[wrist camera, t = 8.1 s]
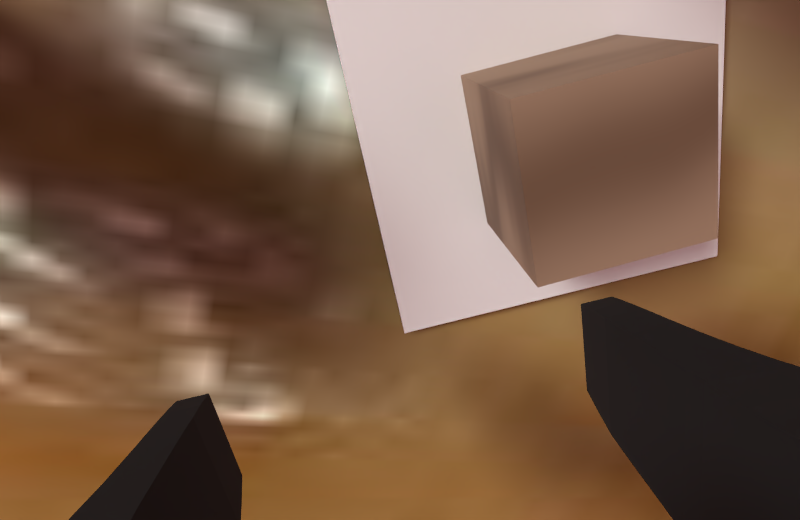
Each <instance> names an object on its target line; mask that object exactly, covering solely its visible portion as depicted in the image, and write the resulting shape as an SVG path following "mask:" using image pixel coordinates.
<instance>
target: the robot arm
mask: <svg viewBox="0 0 800 520" xmlns="http://www.w3.org/2000/svg"><path fill="white" fill-rule="evenodd" d="M581 311H582V325H583V339H584V353H585V367H586V382H587V391H588V393H589V395H590V397H591V398H592V400H593V402H594V404H595V406H596V408H597V410H598V412H599V414H600V415H601V417H602V419H603V421H604V423H605V424H606V426H607V428H608V430H609V431H610V433H611V435H612V436H613V438H614V439H615V440H616V442H617V443H618V445H619V446H620V447H621V449H622V450H623V452H624V453H625V454H626V456H627V457H628V458H629V460H630V461H631V463H632V464H633V465H634V467H635V468H636V470H637V471H638V472H639V474H640V475H641V476H642V478H643V479H644V480H645V482H646V483H647V484H648V486H649V487H650V489H651V490H652V491H653V493H654V494H655V495H656V497H657V498H658V499H659V501H660V502H661V503H662V505H663V506H664V508H665V509H666V510H667V512H668V513H669V514H670V516H671V517H672V518H673V520H800V367H798V366H795V365H792V364H789V363H786V362H782V361H779V360H776V359H773V358H770V357H767V356H764V355H761V354H758V353H756V352H753V351H750V350H747V349H744V348H741V347H738V346H735V345H733V344H730V343H727V342H725V341H722V340H719V339H717V338H714V337H711V336H709V335H706V334H704V333H701V332H699V331H696V330H694V329H691V328H689V327H686V326H684V325H682V324H679V323H677V322H674V321H672V320H669V319H667V318H665V317H662V316H660V315H657V314H655V313H653V312H650V311H648V310H645V309H643V308H641V307H638V306H636V305H633V304H631V303H628V302H625V301H623V300H620V299H617V298H614V297H608V298H604V299H600V300H596V301H592V302H588V303H583V304H581ZM241 503H242V474H241V471H240V469H239V467H238V464H237V462H236V459H235V457H234V454H233V452H232V449H231V447H230V444H229V442H228V440H227V437H226V435H225V432H224V430H223V427H222V425H221V422H220V420H219V418H218V415H217V413H216V410H215V408H214V405H213V403H212V400H211V398H210V395H209V394H205V395H201V396H197V397H192V398H188V399H184V400H180V401H176V402H175V403H174V404H173V405H172V406H171V407H170V408H169V409H168V410H167V411H166V413H165V414H164V415H163V416H162V417H161V418H160V419H159V420H158V421H157V423H156V424H155V425H154V426H153V427H152V428H151V429H150V431H149V432H148V433H147V434H146V435H145V436H144V437H143V439H142V440H141V441H140V442H139V443H138V444H137V446H136V447H135V448H134V449H133V450H132V451H131V452H130V454H129V455H128V456H127V457H126V458H125V459H124V460H123V461H122V463H121V464H120V465H119V466H118V467H117V468H116V469H115V471H114V472H113V473H112V474H111V475H110V476H109V477H108V478H107V480H106V481H105V482H104V483H103V484H102V485H101V486H100V487H99V488H98V489H97V490H96V491H95V492H94V493H93V495H92V496H91V497H90V498H89V499H88V500H87V501H86V502H85V503H84V504H83V505H82V506H81V507H80V508H79V509H78V510H77V511H76V512H75V513H74V514H73V516H72V517H71V518H70V519H69V520H241Z"/></svg>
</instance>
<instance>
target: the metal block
mask: <svg viewBox="0 0 800 520" xmlns="http://www.w3.org/2000/svg"><path fill="white" fill-rule="evenodd" d="M718 51H719V44H714V43H703V42H693V41H682V40H672V39H661V38H651V37H640V36H630V35H619V34H616V35H612V36H608V37H604V38H600V39H597V40H593V41H589V42H585V43H581V44H578V45H574V46H570V47H566V48H562V49H559V50H555V51H551V52H547V53H543V54H540V55H536V56H532V57H528V58H524V59H521V60H517V61H513V62H509V63H505V64H501V65H498V66H494V67H490V68H486V69H482V70H479V71H475V72H471V73H467V74H463V75H461V81H462V86H463V92H464V97H465V103H466V108H467V114H468V119H469V125H470V130H471V136H472V141H473V147H474V152H475V158H476V163H477V169H478V174H479V180H480V185H481V191H482V196H483V202H484V207H485V213H486V218H487V223H488V225H489V226H490V227H491V228H492V230H493V231H494V232H495V234H496V235H497V236H498V237H499V239H500V240H501V241H502V243H503V244H504V245H505V246H506V248H507V249H508V250H509V251H510V253H511V254H512V255H513V257H514V258H515V259H516V260H517V262H518V263H519V264H520V266H521V267H522V268H523V269H524V271H525V272H526V273H527V275H528V276H529V277H530V278H531V280H532V281H533V282H534V283H535V285H536V286H537V287H542V286H545V285H549V284H553V283H556V282H560V281H564V280H567V279H571V278H575V277H578V276H582V275H586V274H589V273H593V272H597V271H600V270H604V269H608V268H611V267H615V266H619V265H622V264H626V263H630V262H634V261H637V260H641V259H645V258H648V257H652V256H656V255H659V254H663V253H667V252H670V251H674V250H678V249H681V248H685V247H689V246H692V245H696V244H700V243H703V242H707V241H711V240H714V239H718Z"/></svg>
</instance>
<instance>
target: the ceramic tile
mask: <svg viewBox="0 0 800 520" xmlns="http://www.w3.org/2000/svg"><path fill="white" fill-rule="evenodd" d="M326 2H327V6H328V11H329V15H330V19H331V23H332V28H333V32H334V36H335V40H336V45H337V49H338V53H339V57H340V62H341V66H342V70H343V74H344V79H345V83H346V87H347V91H348V96H349V100H350V104H351V108H352V112H353V117H354V121H355V125H356V129H357V134H358V138H359V142H360V146H361V151H362V155H363V159H364V163H365V168H366V172H367V176H368V180H369V185H370V189H371V193H372V197H373V202H374V206H375V210H376V214H377V219H378V223H379V227H380V231H381V236H382V240H383V244H384V248H385V253H386V257H387V261H388V265H389V270H390V274H391V278H392V282H393V287H394V291H395V295H396V299H397V304H398V308H399V312H400V316H401V321H402V325H403V329H404V332H405V333H407V332H411V331H416V330H420V329H424V328H428V327H432V326H436V325H440V324H444V323H448V322H452V321H456V320H460V319H464V318H468V317H472V316H476V315H480V314H484V313H488V312H493V311H497V310H501V309H505V308H509V307H513V306H517V305H521V304H525V303H529V302H533V301H537V300H541V299H545V298H549V297H553V296H557V295H561V294H565V293H570V292H574V291H578V290H582V289H586V288H590V287H594V286H598V285H602V284H606V283H610V282H614V281H618V280H622V279H626V278H630V277H634V276H638V275H642V274H647V273H651V272H655V271H659V270H663V269H667V268H671V267H675V266H679V265H683V264H687V263H691V262H695V261H699V260H703V259H707V258H711V257H715V256H717V252H718V239H714V240H711V241H707V242H703V243H700V244H696V245H692V246H689V247H685V248H681V249H678V250H674V251H670V252H667V253H663V254H659V255H656V256H652V257H648V258H645V259H641V260H637V261H634V262H630V263H626V264H622V265H619V266H615V267H611V268H608V269H604V270H600V271H597V272H593V273H589V274H586V275H582V276H578V277H575V278H571V279H567V280H564V281H560V282H556V283H553V284H549V285H545V286H542V287H537V286H536V285H535V283H534V282H533V281H532V280H531V278H530V277H529V276H528V275H527V273H526V272H525V271H524V269H523V268H522V267H521V266H520V264H519V263H518V262H517V260H516V259H515V258H514V257H513V255H512V254H511V253H510V251H509V250H508V249H507V248H506V246H505V245H504V244H503V243H502V241H501V240H500V239H499V237H498V236H497V235H496V234H495V232H494V231H493V230H492V228H491V227H490V226H489V225H488V223H487V218H486V213H485V207H484V202H483V196H482V191H481V185H480V180H479V174H478V169H477V163H476V158H475V152H474V147H473V141H472V136H471V130H470V125H469V119H468V114H467V108H466V103H465V97H464V92H463V86H462V81H461V75H463V74H467V73H471V72H475V71H479V70H482V69H486V68H490V67H494V66H498V65H501V64H505V63H509V62H513V61H517V60H521V59H524V58H528V57H532V56H536V55H540V54H543V53H547V52H551V51H555V50H559V49H562V48H566V47H570V46H574V45H578V44H581V43H585V42H589V41H593V40H597V39H600V38H604V37H608V36H612V35H616V34H619V35H630V36H640V37H651V38H661V39H672V40H682V41H693V42H703V43H714V44H719V51H718V222H719V191H720V161H721V130H722V100H723V69H724V39H725V8H726V0H326Z"/></svg>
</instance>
